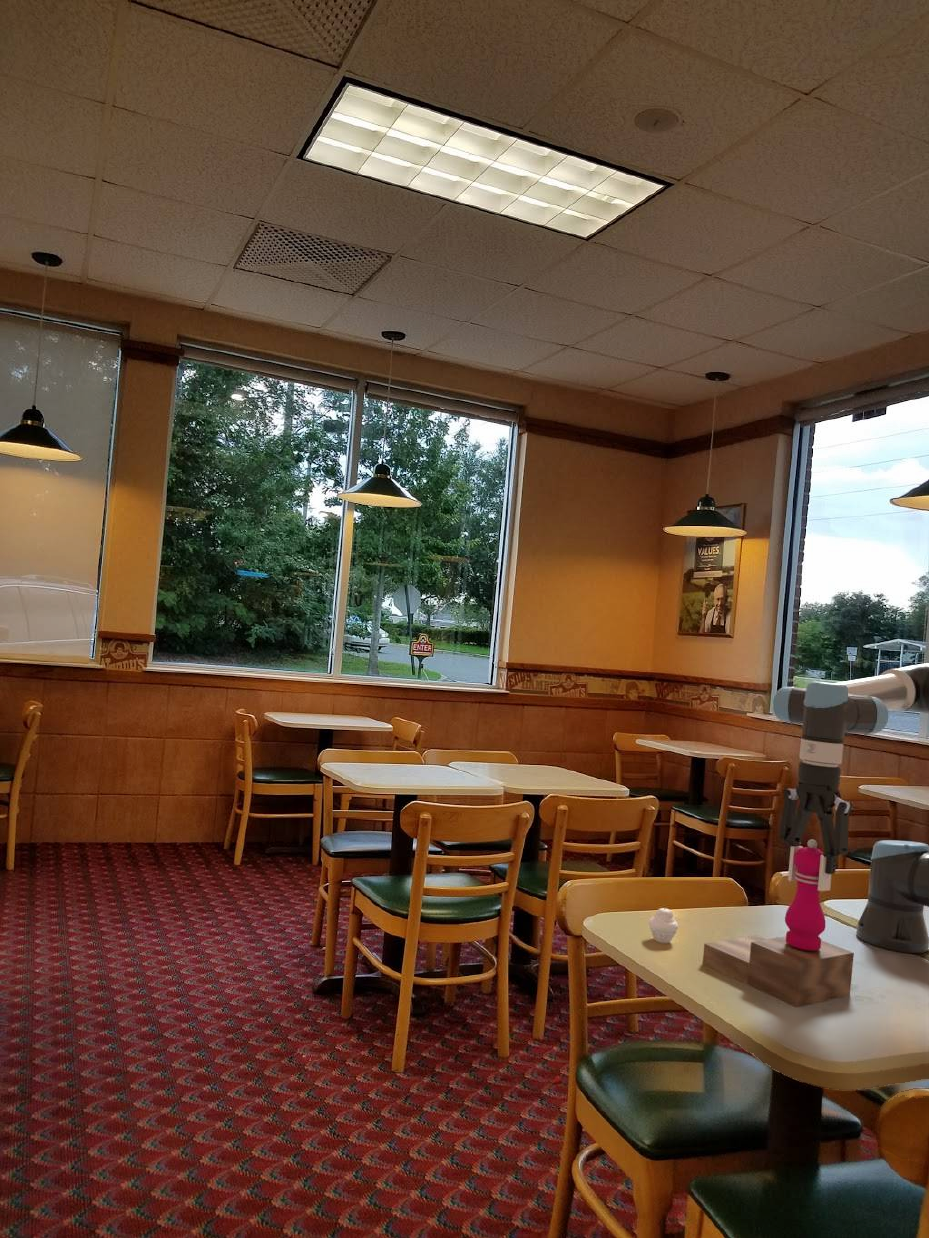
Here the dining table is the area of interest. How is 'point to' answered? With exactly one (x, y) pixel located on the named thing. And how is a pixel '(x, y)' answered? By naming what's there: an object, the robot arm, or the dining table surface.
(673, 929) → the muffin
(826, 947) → the step stand
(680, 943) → the dining table surface
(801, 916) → the pepper mill
